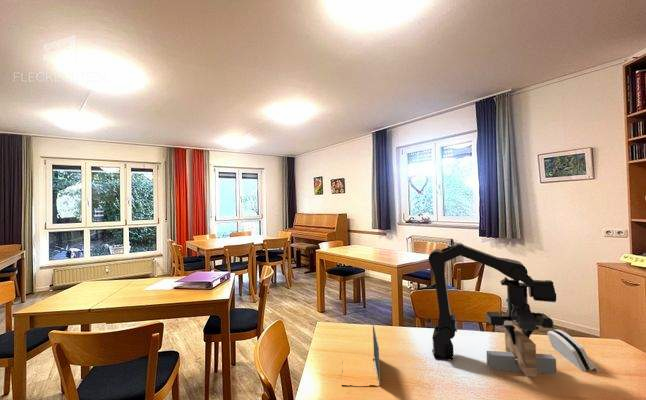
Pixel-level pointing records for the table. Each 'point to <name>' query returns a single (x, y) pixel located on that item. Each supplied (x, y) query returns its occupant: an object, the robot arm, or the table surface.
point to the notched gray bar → (509, 362)
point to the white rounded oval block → (570, 349)
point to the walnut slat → (522, 351)
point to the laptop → (376, 354)
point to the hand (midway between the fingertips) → (519, 344)
